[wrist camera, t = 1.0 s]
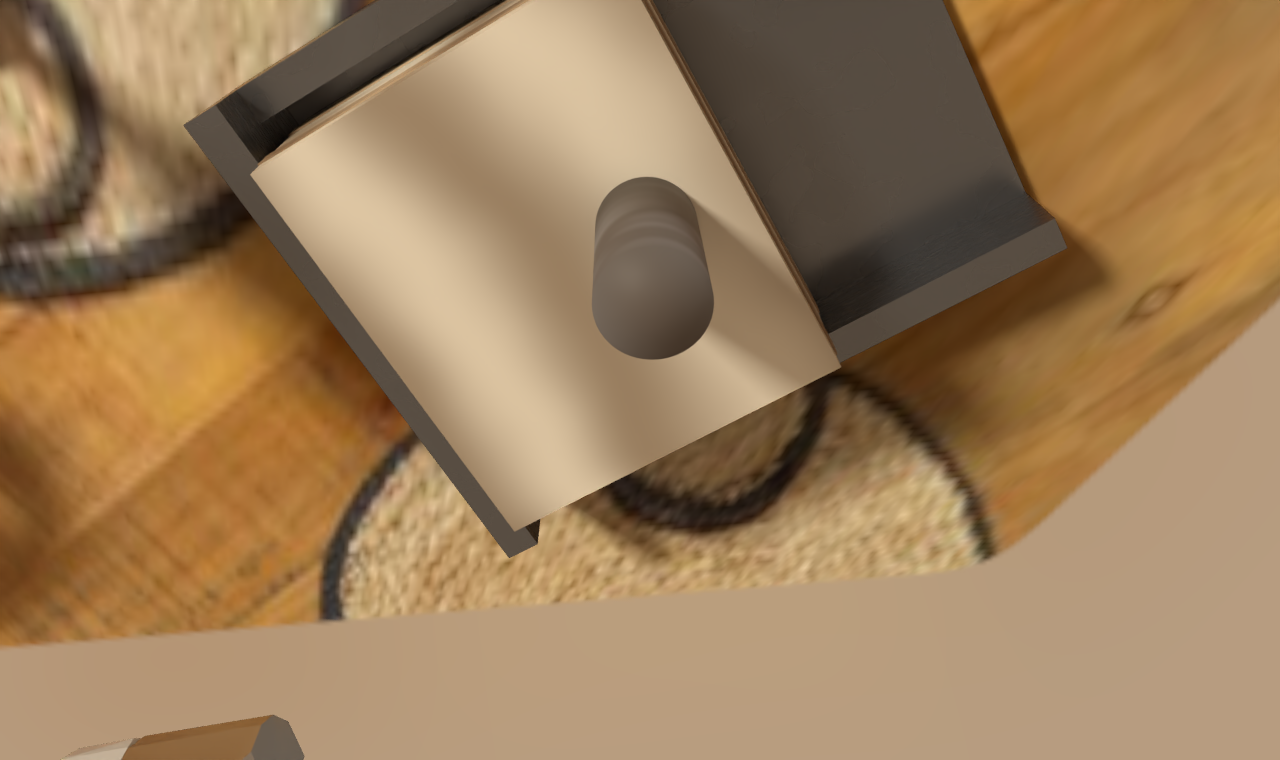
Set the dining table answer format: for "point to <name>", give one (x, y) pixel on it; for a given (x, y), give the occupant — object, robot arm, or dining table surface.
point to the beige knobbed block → (552, 247)
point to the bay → (765, 145)
